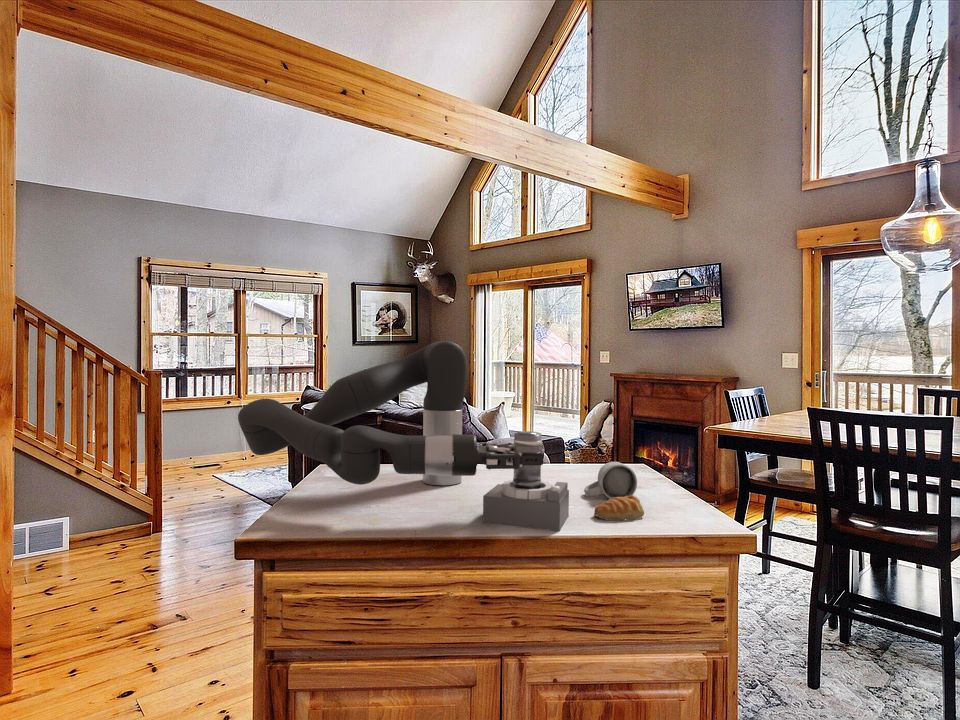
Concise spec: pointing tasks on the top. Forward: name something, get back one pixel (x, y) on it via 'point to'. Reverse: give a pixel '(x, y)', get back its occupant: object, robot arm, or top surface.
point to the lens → (527, 473)
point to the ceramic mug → (613, 481)
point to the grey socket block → (527, 506)
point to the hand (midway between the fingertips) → (539, 455)
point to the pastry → (620, 508)
